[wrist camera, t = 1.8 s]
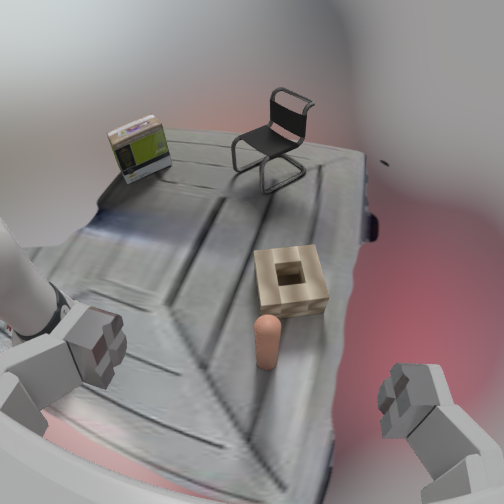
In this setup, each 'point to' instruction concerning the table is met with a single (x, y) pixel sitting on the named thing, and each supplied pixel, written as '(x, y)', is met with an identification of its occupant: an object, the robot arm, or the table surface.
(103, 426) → the table surface
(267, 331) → the dowel
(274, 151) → the chair
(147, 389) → the table surface
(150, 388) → the table surface
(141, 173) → the tea box
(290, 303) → the socket block
